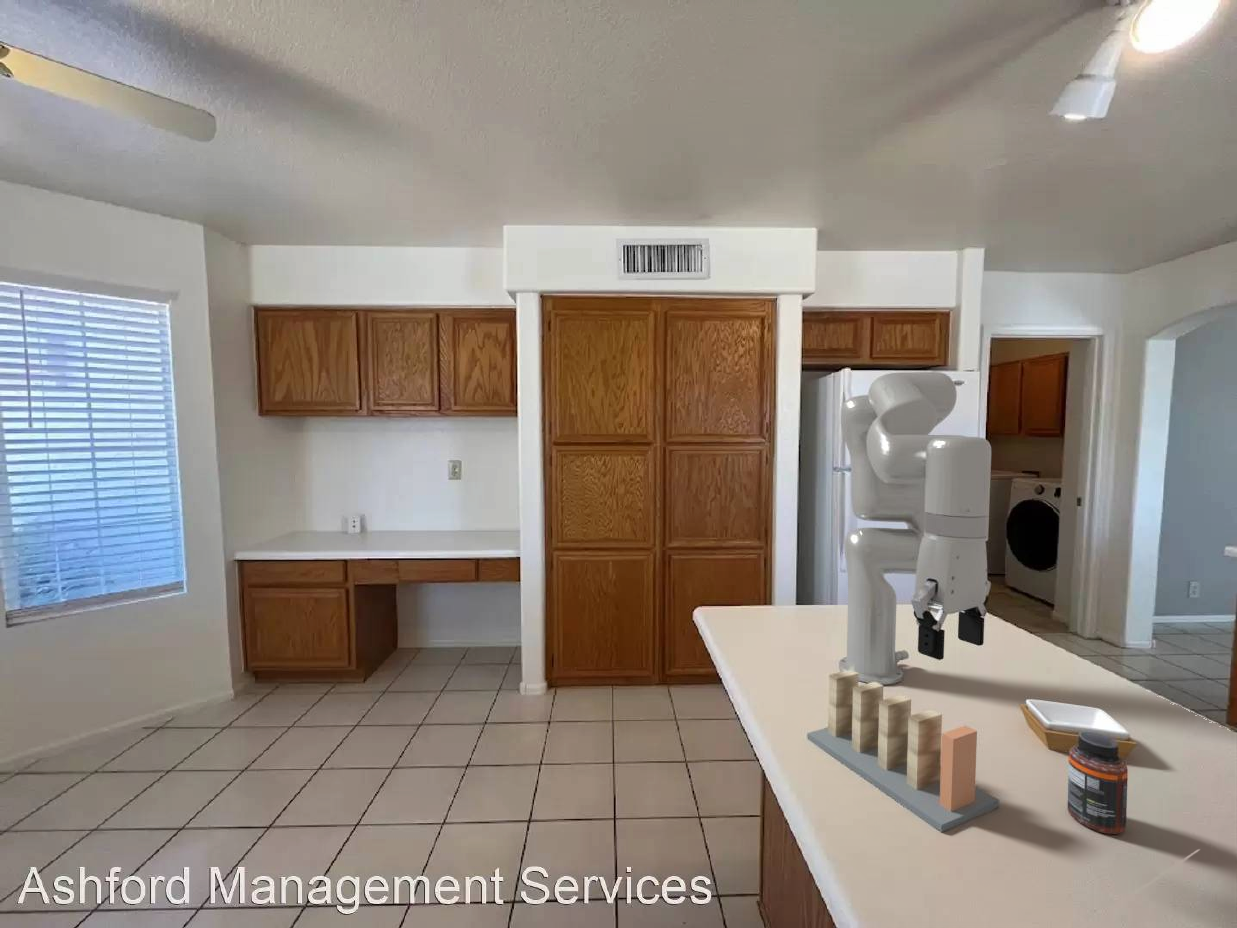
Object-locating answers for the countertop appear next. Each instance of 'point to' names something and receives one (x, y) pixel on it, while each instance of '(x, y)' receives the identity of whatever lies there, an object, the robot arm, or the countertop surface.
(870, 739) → the domino
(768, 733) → the countertop surface
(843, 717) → the domino
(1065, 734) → the soap dish
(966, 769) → the domino
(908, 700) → the domino
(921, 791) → the runway mat
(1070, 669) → the countertop surface
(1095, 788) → the supplement bottle
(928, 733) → the domino
